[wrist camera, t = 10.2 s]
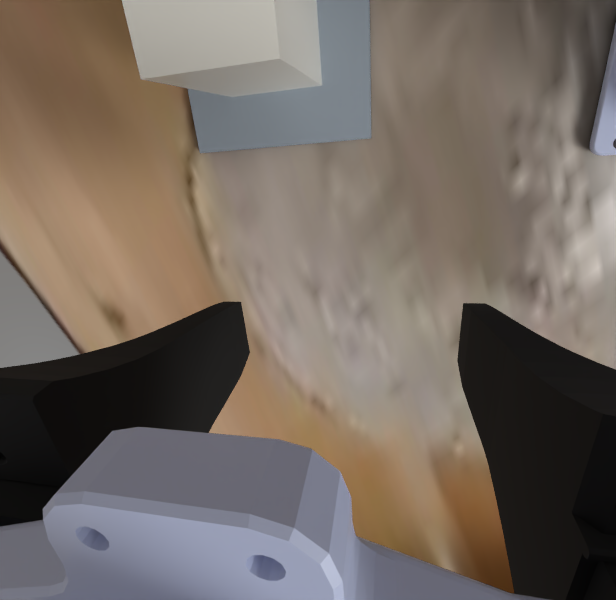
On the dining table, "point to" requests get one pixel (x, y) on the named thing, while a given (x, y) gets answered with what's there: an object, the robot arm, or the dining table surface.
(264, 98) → the slate mat
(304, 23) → the cream block
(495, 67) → the dining table surface
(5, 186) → the dining table surface
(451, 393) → the dining table surface
